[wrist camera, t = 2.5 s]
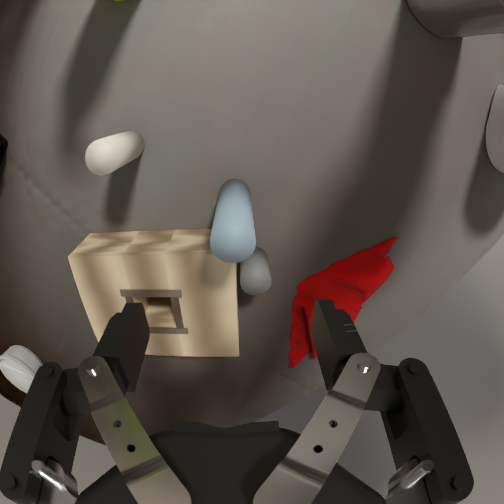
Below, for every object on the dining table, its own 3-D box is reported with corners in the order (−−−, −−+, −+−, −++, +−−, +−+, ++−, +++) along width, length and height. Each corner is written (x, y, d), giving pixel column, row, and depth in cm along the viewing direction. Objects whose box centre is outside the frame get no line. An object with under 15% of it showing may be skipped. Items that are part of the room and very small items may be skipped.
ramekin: (20, 334, 41) (8, 352, 36) (59, 373, 45) (50, 393, 41) (1, 346, 43) (-9, 362, 38) (36, 381, 47) (27, 398, 43)
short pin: (267, 246, 34) (271, 269, 30) (266, 270, 36) (270, 294, 31) (239, 247, 34) (239, 269, 30) (240, 271, 36) (240, 295, 31)
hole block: (235, 228, 33) (235, 254, 27) (238, 324, 39) (239, 357, 34) (90, 233, 32) (67, 257, 27) (115, 322, 39) (101, 351, 33)
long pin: (249, 178, 30) (256, 220, 20) (249, 207, 32) (255, 262, 21) (219, 179, 30) (208, 221, 20) (220, 207, 32) (211, 263, 21)
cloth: (373, 204, 33) (381, 210, 31) (424, 266, 38) (431, 274, 36) (234, 336, 41) (234, 347, 39) (299, 371, 46) (302, 382, 44)
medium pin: (143, 128, 27) (115, 136, 21) (145, 158, 29) (119, 174, 22) (116, 132, 27) (83, 142, 20) (118, 161, 29) (87, 177, 22)
